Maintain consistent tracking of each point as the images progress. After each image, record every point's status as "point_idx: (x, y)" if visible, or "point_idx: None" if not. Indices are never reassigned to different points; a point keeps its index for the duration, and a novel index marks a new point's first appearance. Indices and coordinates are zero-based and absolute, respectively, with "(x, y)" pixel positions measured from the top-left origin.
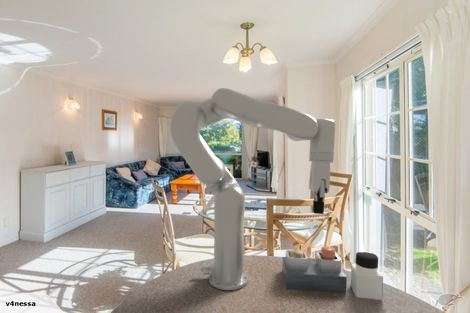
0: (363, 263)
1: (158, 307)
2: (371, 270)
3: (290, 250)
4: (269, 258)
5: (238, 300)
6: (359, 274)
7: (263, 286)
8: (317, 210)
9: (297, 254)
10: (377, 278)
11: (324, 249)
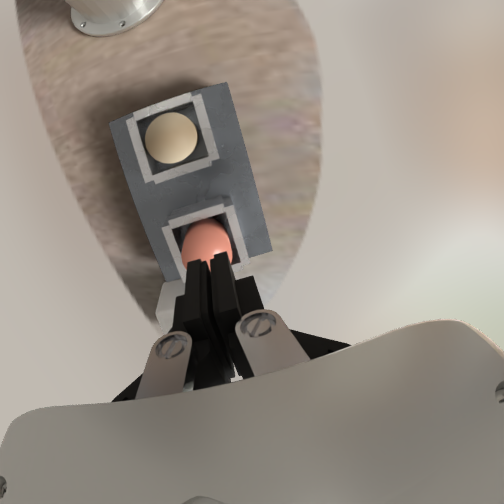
0: None
1: None
2: None
3: (200, 108)
4: (297, 44)
5: (49, 57)
6: (157, 318)
7: (116, 72)
8: (177, 301)
9: (148, 145)
10: None
11: (193, 244)
